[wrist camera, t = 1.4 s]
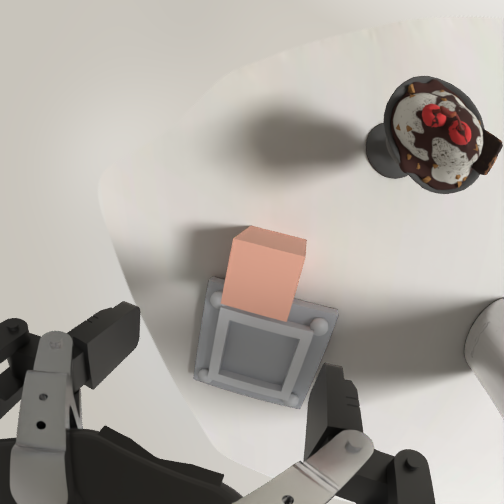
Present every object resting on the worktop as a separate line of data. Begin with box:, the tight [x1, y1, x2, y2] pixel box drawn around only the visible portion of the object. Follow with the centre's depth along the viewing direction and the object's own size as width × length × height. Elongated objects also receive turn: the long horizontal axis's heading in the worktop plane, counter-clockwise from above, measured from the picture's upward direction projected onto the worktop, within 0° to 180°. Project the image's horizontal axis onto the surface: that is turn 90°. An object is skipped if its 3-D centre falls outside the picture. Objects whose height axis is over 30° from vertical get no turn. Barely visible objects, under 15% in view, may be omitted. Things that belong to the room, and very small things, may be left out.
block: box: [221, 226, 307, 322], centre depth 23 cm, size 5×5×6 cm
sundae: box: [366, 76, 503, 194], centre depth 15 cm, size 7×7×15 cm
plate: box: [193, 276, 339, 409], centre depth 27 cm, size 12×12×2 cm
